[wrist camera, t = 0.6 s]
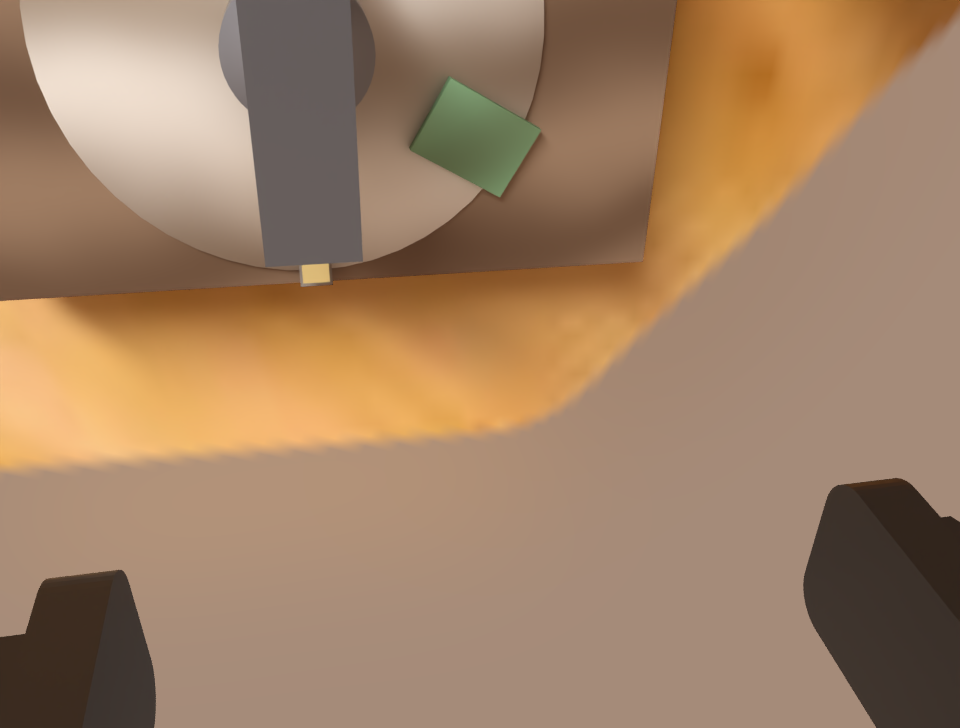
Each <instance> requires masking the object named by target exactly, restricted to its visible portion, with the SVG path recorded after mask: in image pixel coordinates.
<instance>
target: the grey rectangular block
mask: <svg viewBox="0 0 960 728" xmlns="http://www.w3.org/2000/svg"><path fill="white" fill-rule="evenodd" d="M218 48H219V59H220V64H221V68H222V71H223V74H224V77H225V79H226V81H227V84H228V86H229V87H230V89H231V91H232V92H233V94H234V95H235V97H236V98H237V99H238V100H239V101H240V103H241V104H242V105H243V106H244V107H245V108H246V109H247V110H248V115H249V124H250V133H251V142H252V151H253V160H254V169H255V178H256V187H257V196H258V205H259V214H260V223H261V231H262V240H263V249H264V258H265V267H278V266H295V265H302V275H303V284H305V283H322V282H330V275H329V264H330V263H347V262H363V251H362V231H361V210H360V190H359V169H358V149H357V128H356V107H357V105H358V104H359V103H360V102H361V101H362V99H363V97H364V96H365V94H366V93H367V91H368V88H369V86H370V84H371V81H372V78H373V74H374V69H375V58H376V52H375V42H374V38H373V34H372V31H371V28H370V25H369V22H368V20H367V17H366V15H365V12H364V10H363V8H362V7H361V5H360V3H359V1H358V0H230V1H229V3H228V5H227V7H226V10H225V13H224V16H223V20H222V24H221V29H220V33H219V44H218Z"/></svg>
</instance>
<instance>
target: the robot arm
mask: <svg viewBox="0 0 960 728" xmlns="http://www.w3.org/2000/svg"><path fill="white" fill-rule="evenodd" d="M803 586H804V598H805V603H806V607H807V611H808V614H809V617H810V619H811V621H812V624H813V626H814V627H815V629H816V631H817V633H818V634H819V636H820V638H821V639H822V641H823V642H824V644H825V646H826V647H827V649H828V650H829V652H830V654H831V655H832V657H833V658H834V660H835V662H836V663H837V665H838V666H839V668H840V670H841V671H842V673H843V674H844V676H845V677H846V679H847V681H848V683H849V684H850V686H851V687H852V689H853V691H854V692H855V694H856V695H857V697H858V699H859V700H860V702H861V704H862V705H863V707H864V708H865V710H866V712H867V713H868V715H869V716H870V718H871V719H872V721H873V723H874V724H875V726H876V728H960V522H959V521H957V520H956V519H954V518H952V517H951V516H949V517H942V518H941V517H940V516H939V515H938V514H937V513H936V512H935V510H934V509H933V508H932V507H931V506H930V505H929V504H928V502H927V501H926V500H925V499H924V498H923V497H922V496H921V495H920V493H919V492H918V491H917V490H916V489H915V488H914V487H913V486H912V485H911V484H910V483H908V482H907V481H905V480H903V479H899V478H893V479H885V480H876V481H868V482H860V483H852V484H844V485H838V486H836V487H834V488H833V489H832V490H831V491H830V493H829V494H828V497H827V500H826V503H825V506H824V510H823V514H822V517H821V520H820V524H819V527H818V530H817V534H816V537H815V540H814V544H813V547H812V551H811V554H810V557H809V561H808V564H807V568H806V571H805V576H804V584H803ZM155 693H156V692H155V678H154V671H153V665H152V661H151V657H150V654H149V650H148V647H147V644H146V641H145V637H144V633H143V630H142V626H141V623H140V619H139V616H138V612H137V609H136V606H135V602H134V599H133V595H132V592H131V588H130V585H129V582H128V579H127V576H126V574H125V573H124V572H123V571H122V570H115V571H107V572H99V573H90V574H83V575H74V576H65V577H58V578H49V579H46V580H44V581H43V583H42V584H41V586H40V588H39V590H38V593H37V596H36V599H35V603H34V606H33V610H32V613H31V616H30V620H29V623H28V626H27V630H26V633H25V634H21V635H14V636H6V637H0V728H154V724H155V711H156V694H155Z"/></svg>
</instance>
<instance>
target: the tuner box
mask: <svg viewBox="0 0 960 728" xmlns="http://www.w3.org/2000/svg"><path fill="white" fill-rule="evenodd" d="M229 1H230V0H0V301H6V300H22V299H39V298H55V297H72V296H88V295H104V294H121V293H137V292H154V291H170V290H186V289H203V288H219V287H236V286H252V285H268V284H285V283H301V287H305V286H321V285H333V281H334V280H350V279H367V278H383V277H400V276H416V275H433V274H449V273H465V272H482V271H498V270H515V269H531V268H547V267H564V266H580V265H597V264H613V263H629V262H643V257H644V249H645V241H646V234H647V226H648V218H649V211H650V203H651V195H652V188H653V180H654V172H655V165H656V157H657V150H658V142H659V134H660V127H661V119H662V111H663V104H664V96H665V88H666V81H667V73H668V65H669V58H670V50H671V42H672V35H673V27H674V19H675V12H676V4H677V0H358V1H359V3H360V5H361V7H362V8H363V10H364V12H365V15H366V17H367V20H368V22H369V25H370V28H371V31H372V34H373V38H374V42H375V52H376V58H375V69H374V74H373V78H372V81H371V84H370V86H369V88H368V91H367V93H366V94H365V96H364V97H363V99H362V101H361V102H360V103H359V104H358V105H357V107H356V128H357V149H358V169H359V190H360V210H361V231H362V251H363V262H347V263H330V264H329V275H330V282H322V283H305V284H303V275H302V265H295V266H278V267H265V258H264V249H263V240H262V231H261V223H260V214H259V205H258V196H257V187H256V178H255V169H254V160H253V151H252V142H251V133H250V124H249V115H248V110H247V109H246V108H245V107H244V106H243V105H242V104H241V103H240V101H239V100H238V99H237V98H236V97H235V95H234V94H233V92H232V91H231V89H230V87H229V86H228V84H227V81H226V79H225V77H224V74H223V71H222V68H221V64H220V59H219V48H218V44H219V33H220V29H221V24H222V20H223V16H224V13H225V10H226V7H227V5H228V3H229Z"/></svg>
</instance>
